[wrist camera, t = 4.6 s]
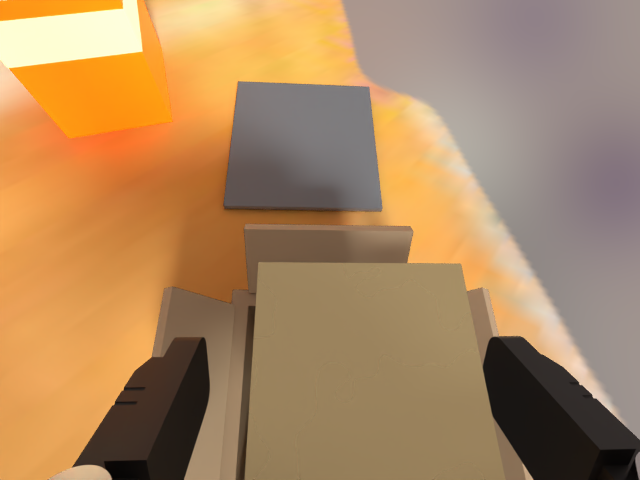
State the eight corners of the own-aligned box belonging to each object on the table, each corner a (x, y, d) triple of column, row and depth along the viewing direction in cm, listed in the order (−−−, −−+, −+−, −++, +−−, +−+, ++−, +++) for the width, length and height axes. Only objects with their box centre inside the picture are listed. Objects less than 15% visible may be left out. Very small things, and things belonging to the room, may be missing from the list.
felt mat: (224, 208, 24) (223, 205, 23) (239, 85, 29) (238, 81, 29) (381, 211, 25) (382, 208, 24) (368, 90, 30) (369, 86, 29)
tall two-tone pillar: (279, 450, 18) (238, 565, 5) (281, 350, 20) (258, 261, 7) (364, 448, 18) (519, 551, 6) (358, 350, 20) (460, 263, 8)
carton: (175, 569, 16) (85, 695, 9) (212, 277, 22) (174, 219, 15) (464, 555, 17) (580, 660, 10) (422, 278, 23) (476, 224, 16)
